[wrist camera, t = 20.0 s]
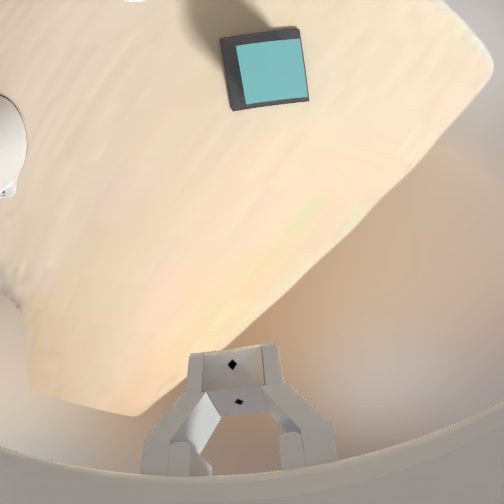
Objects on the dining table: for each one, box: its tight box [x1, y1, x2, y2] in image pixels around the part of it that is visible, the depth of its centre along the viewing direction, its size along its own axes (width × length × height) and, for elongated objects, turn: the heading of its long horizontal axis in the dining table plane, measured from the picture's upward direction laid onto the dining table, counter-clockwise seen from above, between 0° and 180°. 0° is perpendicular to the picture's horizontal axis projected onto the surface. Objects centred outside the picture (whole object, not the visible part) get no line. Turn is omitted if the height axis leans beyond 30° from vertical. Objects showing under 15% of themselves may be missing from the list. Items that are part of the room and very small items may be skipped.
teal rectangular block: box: [236, 39, 308, 104], centre depth 28 cm, size 6×6×9 cm
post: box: [220, 29, 309, 111], centre depth 29 cm, size 9×9×7 cm
